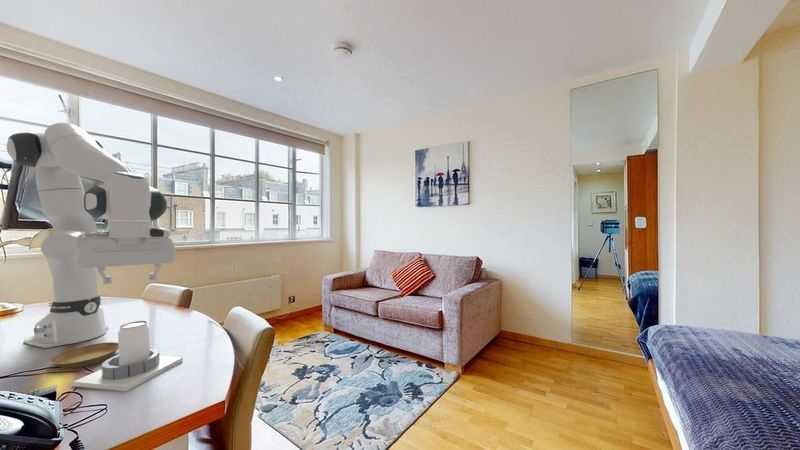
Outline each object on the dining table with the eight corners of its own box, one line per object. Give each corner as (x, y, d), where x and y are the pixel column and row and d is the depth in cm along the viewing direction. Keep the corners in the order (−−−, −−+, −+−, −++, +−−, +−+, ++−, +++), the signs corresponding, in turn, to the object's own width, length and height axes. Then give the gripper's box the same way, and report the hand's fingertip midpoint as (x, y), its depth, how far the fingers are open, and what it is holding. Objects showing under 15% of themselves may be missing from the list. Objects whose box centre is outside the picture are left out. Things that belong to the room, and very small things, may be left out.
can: (130, 374, 81) (129, 329, 81) (113, 371, 83) (111, 327, 83) (155, 363, 87) (154, 321, 87) (138, 360, 89) (137, 319, 89)
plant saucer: (63, 377, 83) (63, 367, 83) (41, 366, 90) (41, 357, 89) (130, 355, 97) (130, 346, 96) (107, 347, 103) (106, 339, 103)
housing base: (73, 386, 78) (72, 369, 78) (136, 358, 94) (136, 344, 94) (126, 391, 75) (125, 374, 75) (182, 361, 91) (182, 347, 91)
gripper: (73, 232, 76) (73, 288, 76) (175, 231, 88) (175, 279, 88) (80, 231, 81) (80, 284, 82) (175, 230, 93) (176, 276, 93)
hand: (131, 281), depth 85 cm, fingers open, 8 cm apart
